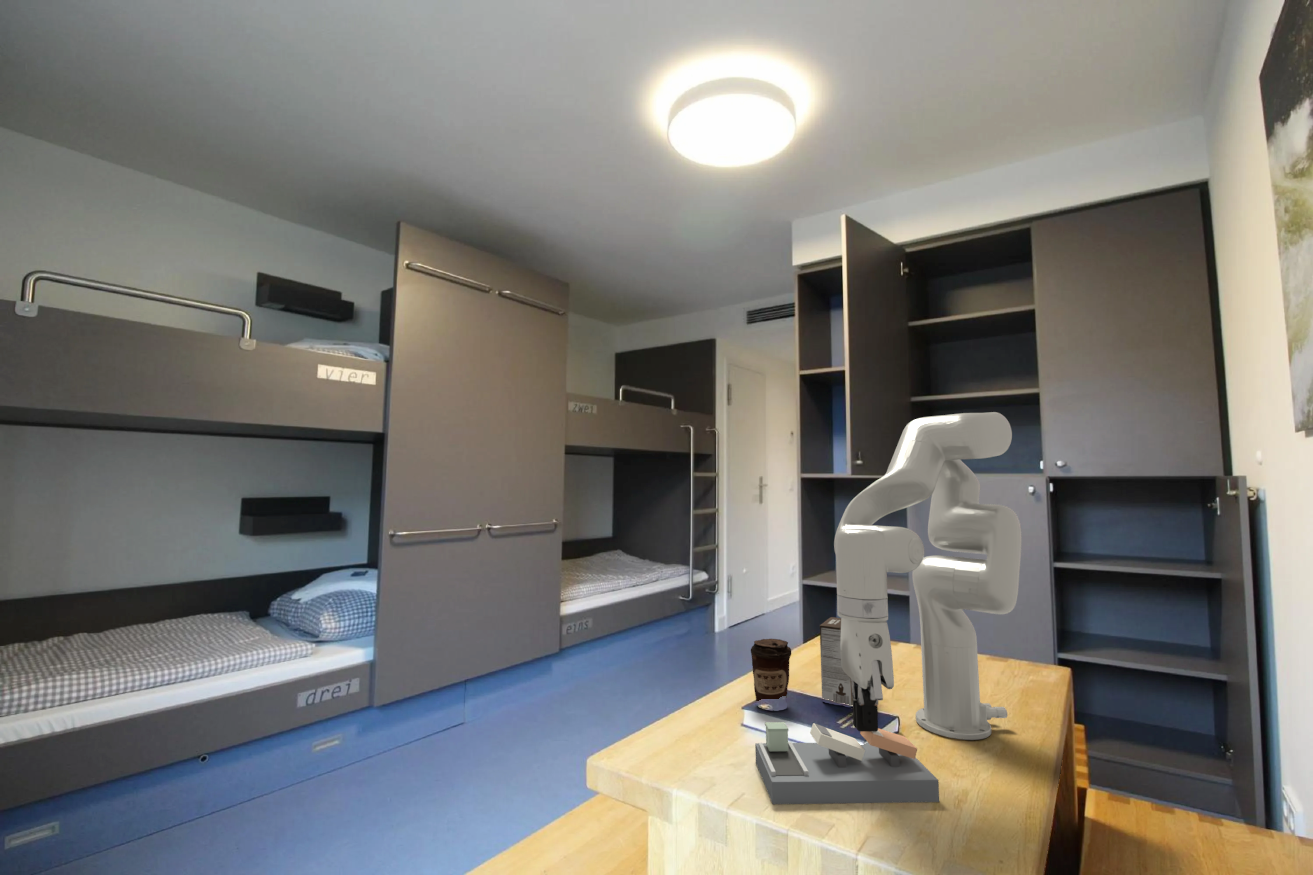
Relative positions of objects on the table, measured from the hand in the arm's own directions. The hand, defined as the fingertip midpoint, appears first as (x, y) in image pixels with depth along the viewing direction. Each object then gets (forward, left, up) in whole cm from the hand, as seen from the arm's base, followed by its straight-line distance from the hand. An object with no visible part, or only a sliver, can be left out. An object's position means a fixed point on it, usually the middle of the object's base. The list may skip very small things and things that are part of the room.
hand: (865, 728), depth 85 cm
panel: (+4, 0, -8) cm, 9 cm away
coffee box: (-8, -33, -8) cm, 35 cm away
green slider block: (+13, -4, -4) cm, 14 cm away
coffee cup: (+8, -29, -8) cm, 31 cm away
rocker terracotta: (-3, 0, -2) cm, 4 cm away
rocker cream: (+5, 0, -2) cm, 5 cm away
